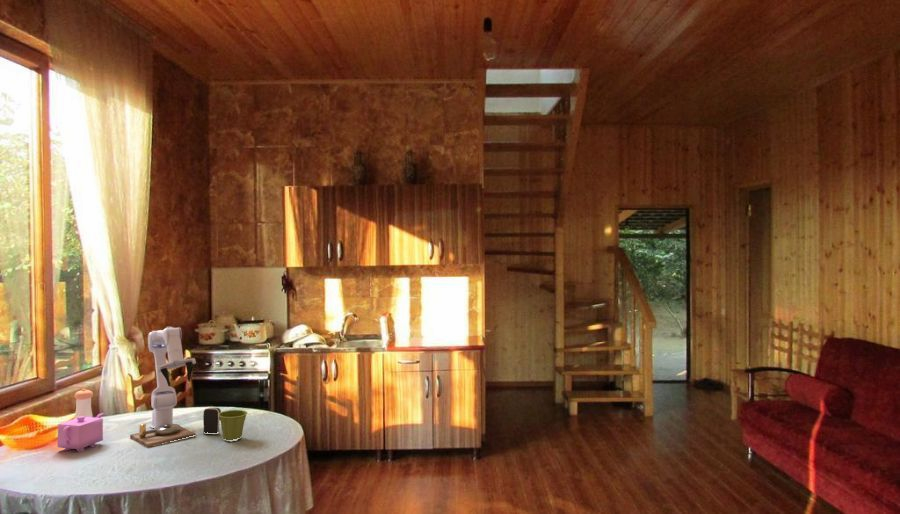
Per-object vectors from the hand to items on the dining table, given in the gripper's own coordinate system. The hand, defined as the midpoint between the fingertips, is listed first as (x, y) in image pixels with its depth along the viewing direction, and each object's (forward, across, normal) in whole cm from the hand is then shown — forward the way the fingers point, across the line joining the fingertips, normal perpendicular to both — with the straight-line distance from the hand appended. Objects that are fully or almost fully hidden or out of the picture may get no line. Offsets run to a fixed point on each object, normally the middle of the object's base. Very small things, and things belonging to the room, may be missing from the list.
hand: (179, 383), depth 245 cm
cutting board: (+13, -12, +23) cm, 29 cm away
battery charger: (+17, +7, +25) cm, 31 cm away
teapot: (+10, -40, +18) cm, 45 cm away
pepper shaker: (-3, -45, +35) cm, 57 cm away
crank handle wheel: (+11, -13, +22) cm, 28 cm away
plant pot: (+24, +16, +16) cm, 33 cm away
